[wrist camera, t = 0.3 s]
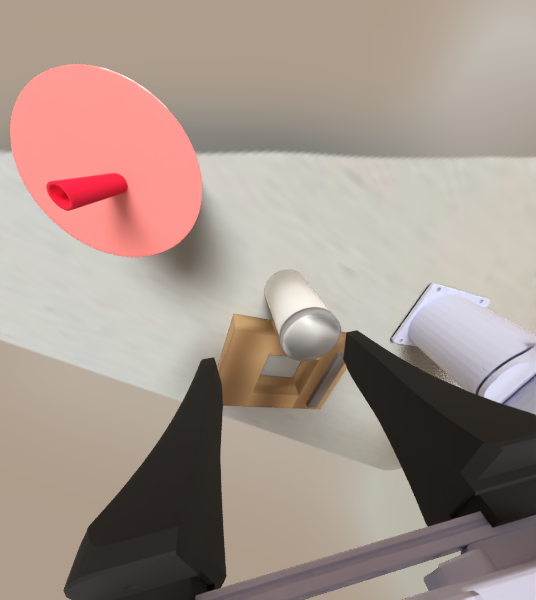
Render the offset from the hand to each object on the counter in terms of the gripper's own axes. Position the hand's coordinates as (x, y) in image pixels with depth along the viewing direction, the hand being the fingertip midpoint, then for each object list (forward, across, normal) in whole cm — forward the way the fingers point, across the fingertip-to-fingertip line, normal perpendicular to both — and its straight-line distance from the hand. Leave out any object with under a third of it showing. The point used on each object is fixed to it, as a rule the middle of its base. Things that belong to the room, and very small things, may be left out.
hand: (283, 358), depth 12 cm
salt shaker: (+10, -2, +1) cm, 10 cm away
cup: (+10, +5, -9) cm, 14 cm away
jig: (+10, -1, +10) cm, 14 cm away
